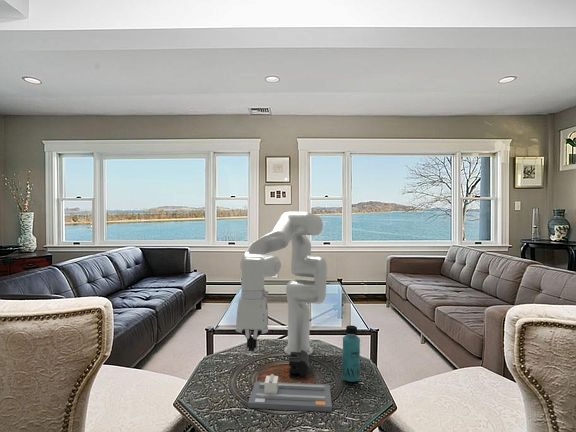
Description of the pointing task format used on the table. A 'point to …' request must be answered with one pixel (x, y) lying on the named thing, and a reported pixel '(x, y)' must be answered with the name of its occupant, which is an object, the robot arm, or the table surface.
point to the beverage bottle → (351, 355)
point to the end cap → (298, 364)
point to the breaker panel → (292, 397)
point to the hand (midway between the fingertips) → (251, 349)
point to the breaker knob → (271, 384)
